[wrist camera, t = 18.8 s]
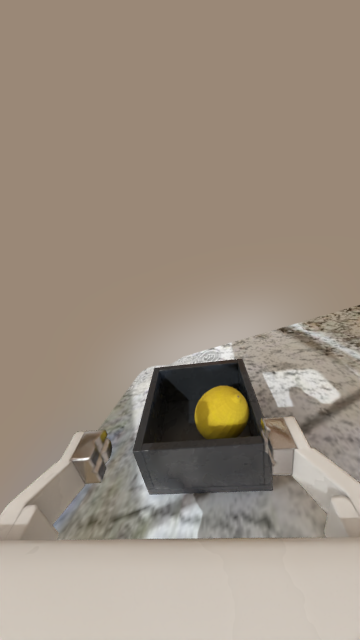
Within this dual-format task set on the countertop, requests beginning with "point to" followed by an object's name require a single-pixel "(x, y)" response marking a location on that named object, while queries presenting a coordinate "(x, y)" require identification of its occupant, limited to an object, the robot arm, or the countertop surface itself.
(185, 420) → the dark gray open box
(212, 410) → the lemon
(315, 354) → the countertop surface
